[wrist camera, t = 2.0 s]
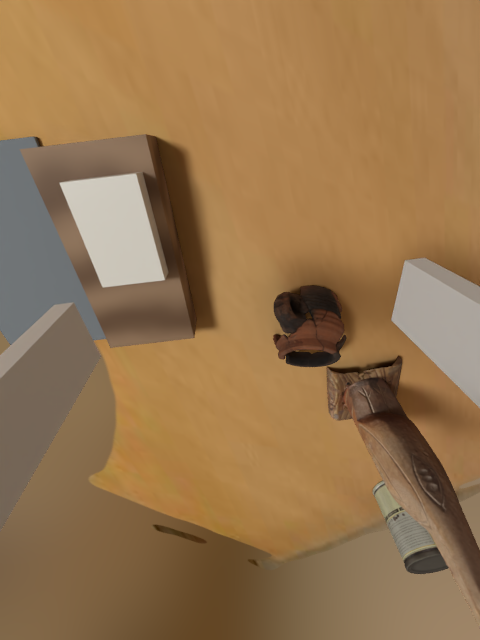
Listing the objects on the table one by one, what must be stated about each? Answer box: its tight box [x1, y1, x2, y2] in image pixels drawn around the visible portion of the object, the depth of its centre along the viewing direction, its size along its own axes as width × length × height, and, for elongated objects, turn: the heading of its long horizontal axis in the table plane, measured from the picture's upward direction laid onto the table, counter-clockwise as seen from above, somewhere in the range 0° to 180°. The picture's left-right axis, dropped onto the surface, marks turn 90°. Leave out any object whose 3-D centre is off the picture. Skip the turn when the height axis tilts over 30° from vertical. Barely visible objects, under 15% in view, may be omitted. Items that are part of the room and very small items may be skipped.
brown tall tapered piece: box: [327, 356, 480, 628], centre depth 30 cm, size 11×12×32 cm
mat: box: [0, 137, 106, 345], centre depth 30 cm, size 22×14×1 cm, turn 6°
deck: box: [20, 134, 197, 348], centre depth 28 cm, size 20×10×4 cm, turn 6°
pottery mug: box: [273, 286, 346, 367], centre depth 34 cm, size 12×10×8 cm
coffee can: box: [373, 481, 449, 574], centre depth 57 cm, size 10×10×14 cm
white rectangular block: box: [60, 172, 168, 287], centre depth 24 cm, size 9×6×2 cm, turn 6°
